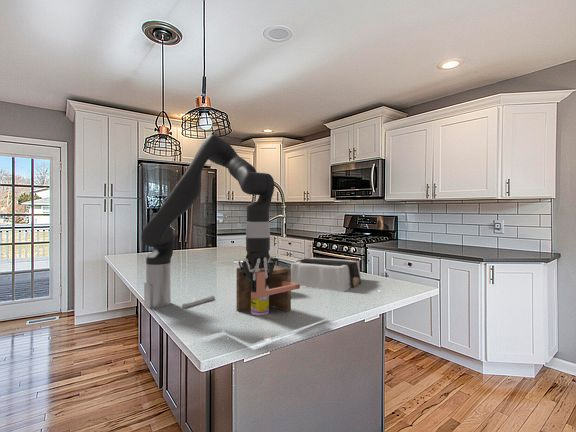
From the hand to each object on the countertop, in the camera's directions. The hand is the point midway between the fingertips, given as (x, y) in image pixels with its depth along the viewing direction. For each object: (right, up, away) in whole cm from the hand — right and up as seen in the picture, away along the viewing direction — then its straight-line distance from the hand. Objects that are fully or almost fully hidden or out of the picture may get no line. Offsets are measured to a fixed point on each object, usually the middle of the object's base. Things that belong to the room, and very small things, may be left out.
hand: (258, 290), depth 103 cm
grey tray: (+29, -13, +68) cm, 76 cm away
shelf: (0, -12, +21) cm, 24 cm away
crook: (+4, -2, +7) cm, 9 cm away
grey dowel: (-27, -13, +31) cm, 43 cm away
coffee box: (0, -13, +51) cm, 52 cm away
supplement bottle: (-1, -13, +18) cm, 22 cm away
